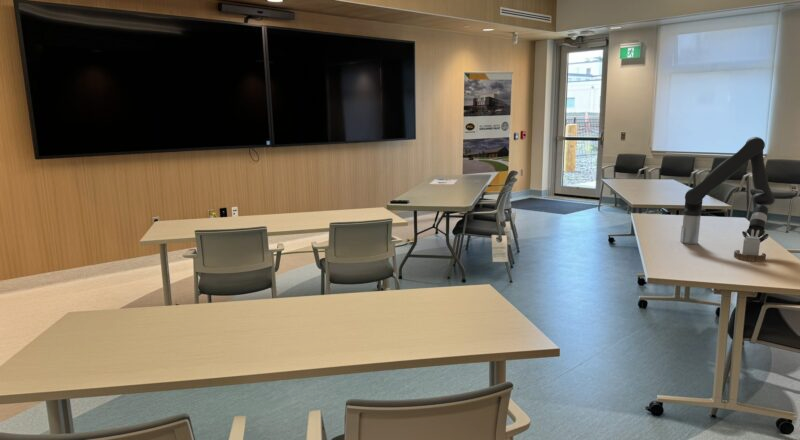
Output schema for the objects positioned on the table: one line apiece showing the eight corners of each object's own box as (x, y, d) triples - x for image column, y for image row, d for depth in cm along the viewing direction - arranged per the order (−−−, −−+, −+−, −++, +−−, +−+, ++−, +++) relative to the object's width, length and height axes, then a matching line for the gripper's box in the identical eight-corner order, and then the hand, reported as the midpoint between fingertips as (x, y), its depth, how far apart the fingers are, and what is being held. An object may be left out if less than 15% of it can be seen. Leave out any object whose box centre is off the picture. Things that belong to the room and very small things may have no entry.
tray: (738, 260, 292) (739, 255, 291) (731, 254, 304) (731, 249, 304) (769, 262, 288) (770, 256, 287) (760, 256, 301) (761, 251, 300)
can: (749, 260, 292) (752, 238, 290) (738, 257, 299) (740, 235, 297) (761, 259, 293) (764, 238, 291) (749, 256, 301) (752, 235, 298)
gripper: (743, 217, 307) (737, 242, 300) (772, 219, 299) (766, 245, 292) (744, 224, 312) (738, 249, 305) (772, 227, 304) (766, 253, 297)
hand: (752, 247), depth 298 cm, fingers closed
